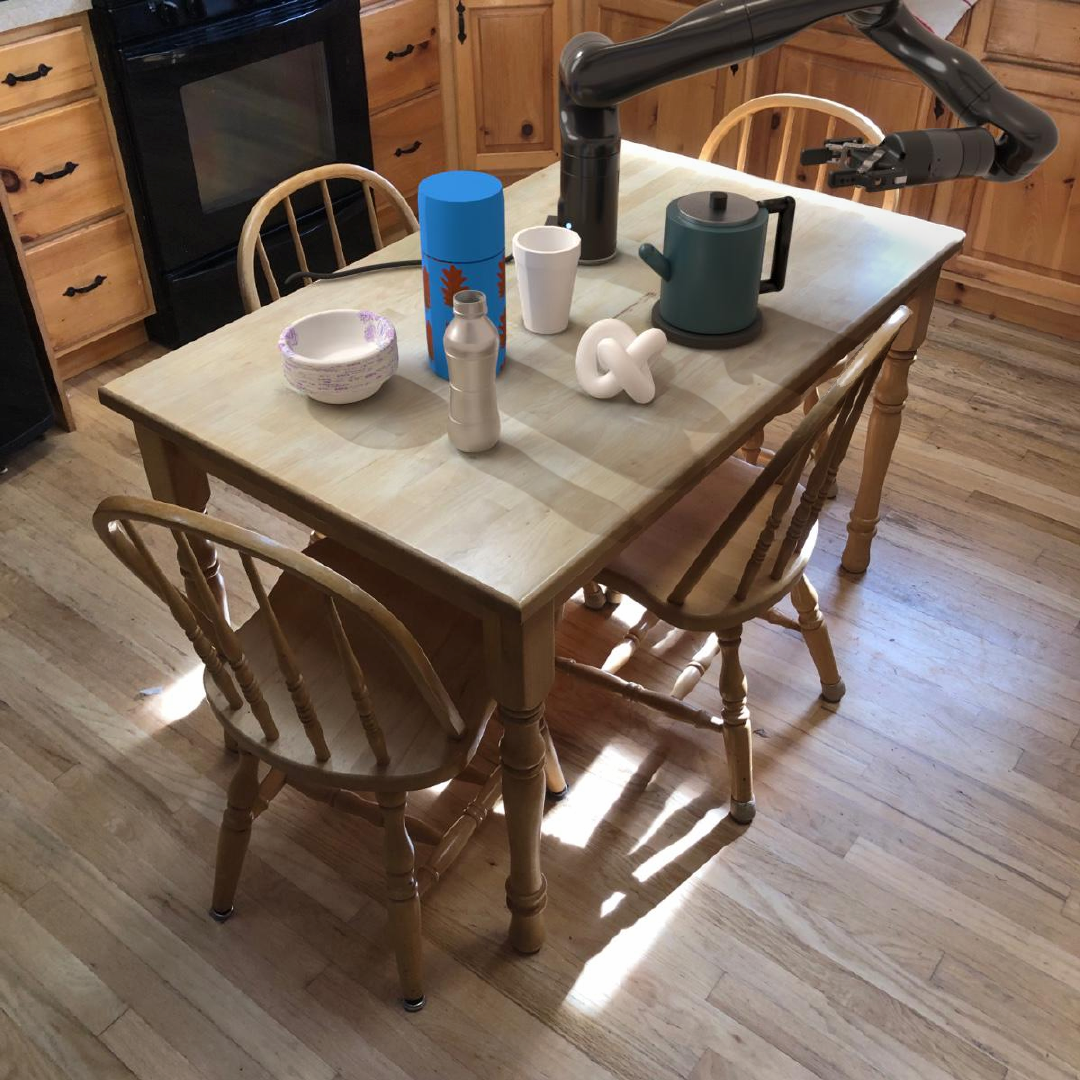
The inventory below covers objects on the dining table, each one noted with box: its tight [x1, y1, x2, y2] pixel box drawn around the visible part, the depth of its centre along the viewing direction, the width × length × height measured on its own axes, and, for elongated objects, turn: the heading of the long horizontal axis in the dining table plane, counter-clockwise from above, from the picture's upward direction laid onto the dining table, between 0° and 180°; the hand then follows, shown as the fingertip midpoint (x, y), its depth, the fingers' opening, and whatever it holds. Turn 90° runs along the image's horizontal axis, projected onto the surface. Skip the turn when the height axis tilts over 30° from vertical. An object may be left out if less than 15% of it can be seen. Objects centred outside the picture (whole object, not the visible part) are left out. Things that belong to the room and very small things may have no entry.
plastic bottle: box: [443, 290, 502, 453], centre depth 140 cm, size 6×7×20 cm
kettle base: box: [650, 298, 764, 350], centre depth 172 cm, size 16×16×2 cm
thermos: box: [417, 170, 507, 381], centre depth 155 cm, size 11×11×25 cm
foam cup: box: [511, 225, 581, 335], centre depth 168 cm, size 10×9×13 cm
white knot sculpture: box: [575, 318, 668, 404], centre depth 153 cm, size 11×12×9 cm
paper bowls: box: [277, 308, 400, 405], centre depth 155 cm, size 15×15×8 cm
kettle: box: [637, 190, 797, 334], centre depth 166 cm, size 24×14×17 cm, turn 110°
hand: (814, 168), depth 162 cm, fingers open, 8 cm apart
